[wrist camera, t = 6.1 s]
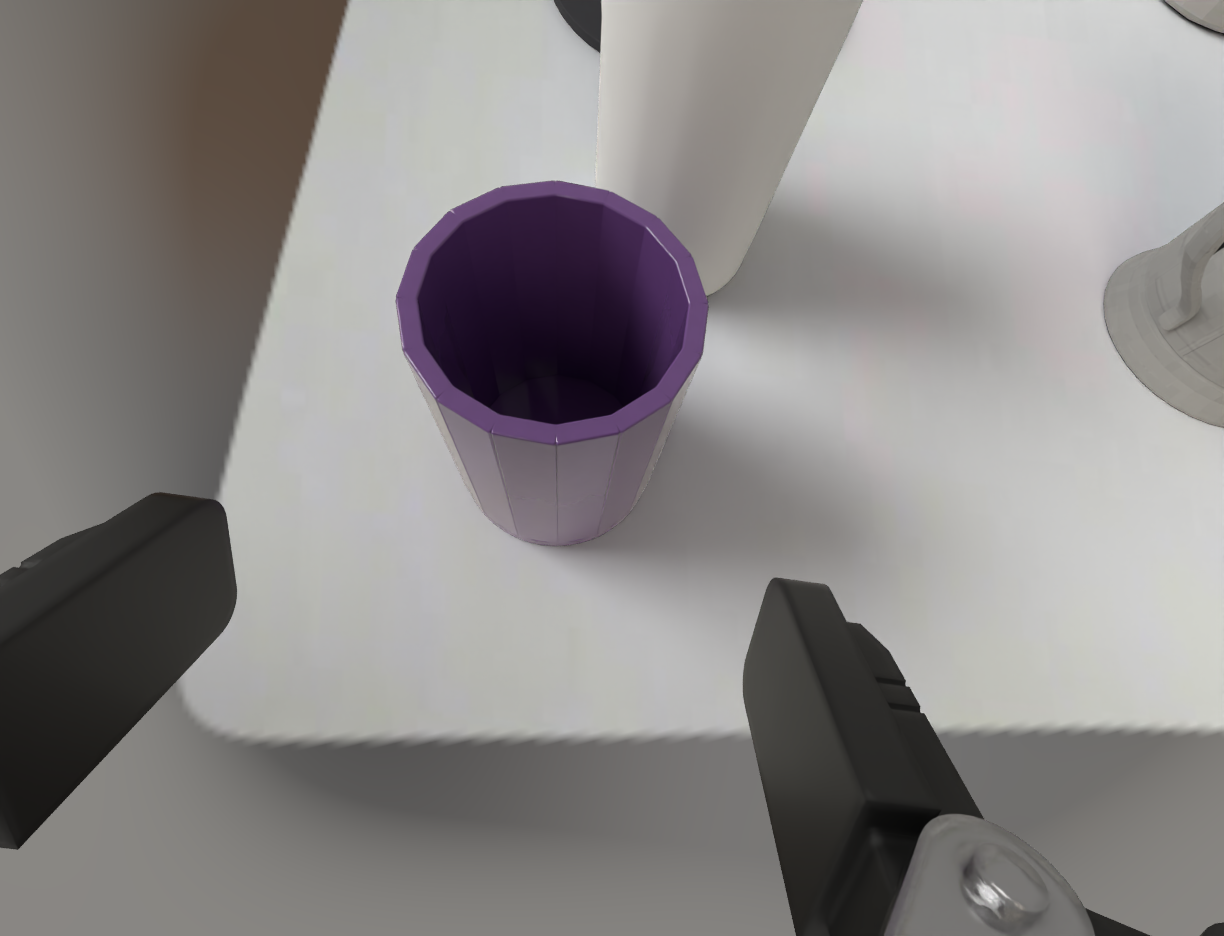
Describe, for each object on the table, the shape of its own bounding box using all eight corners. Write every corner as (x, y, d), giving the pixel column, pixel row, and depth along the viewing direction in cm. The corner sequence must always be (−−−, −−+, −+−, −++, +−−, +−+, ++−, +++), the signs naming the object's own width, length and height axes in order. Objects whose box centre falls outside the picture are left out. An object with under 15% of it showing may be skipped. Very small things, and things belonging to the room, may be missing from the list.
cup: (479, 564, 20) (418, 470, 11) (450, 389, 22) (381, 199, 13) (669, 524, 21) (745, 410, 12) (625, 360, 23) (663, 166, 14)
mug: (779, 277, 25) (963, -70, 13) (634, 333, 23) (703, -5, 12) (664, 108, 27) (736, -296, 16) (528, 149, 26) (503, -266, 15)
